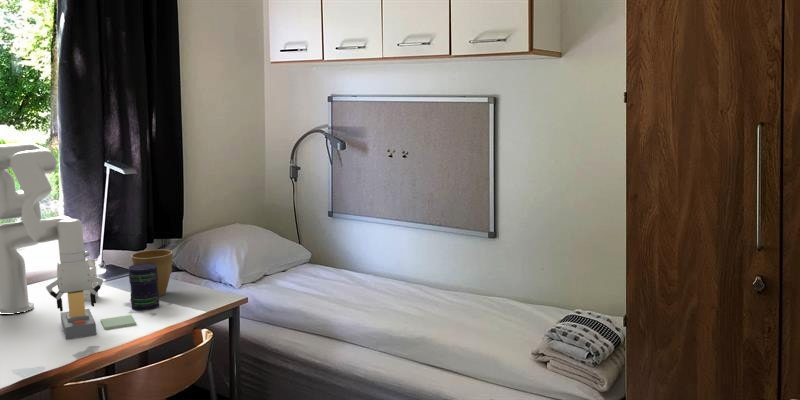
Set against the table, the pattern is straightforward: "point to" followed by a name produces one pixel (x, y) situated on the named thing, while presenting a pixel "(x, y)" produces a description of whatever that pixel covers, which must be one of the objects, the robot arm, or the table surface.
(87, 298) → the ink cartridge box
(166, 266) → the plant pot
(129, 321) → the mat
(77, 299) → the plug
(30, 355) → the table surface
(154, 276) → the storage jar
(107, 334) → the table surface
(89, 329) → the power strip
